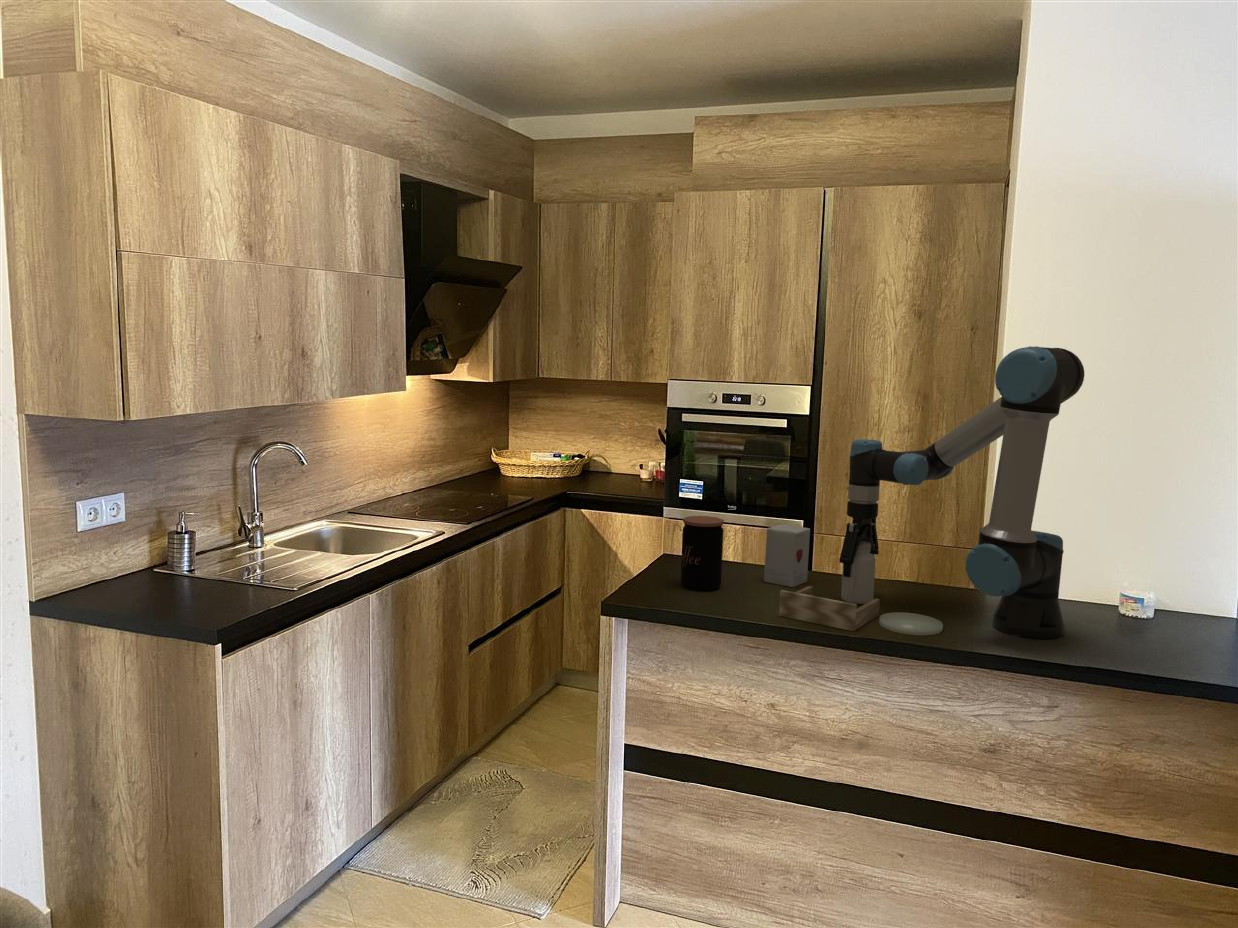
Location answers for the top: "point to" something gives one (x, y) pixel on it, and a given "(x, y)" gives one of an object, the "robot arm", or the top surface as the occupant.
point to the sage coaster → (911, 623)
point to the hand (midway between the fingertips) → (857, 584)
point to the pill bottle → (862, 576)
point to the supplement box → (787, 555)
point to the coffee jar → (702, 553)
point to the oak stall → (826, 610)
